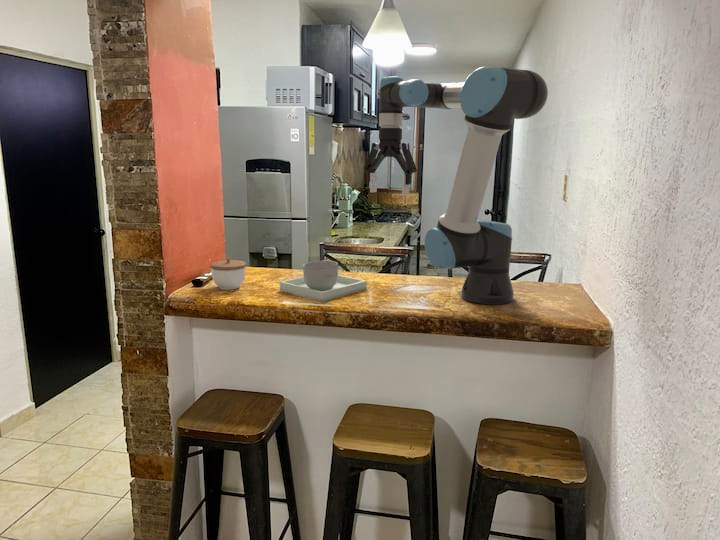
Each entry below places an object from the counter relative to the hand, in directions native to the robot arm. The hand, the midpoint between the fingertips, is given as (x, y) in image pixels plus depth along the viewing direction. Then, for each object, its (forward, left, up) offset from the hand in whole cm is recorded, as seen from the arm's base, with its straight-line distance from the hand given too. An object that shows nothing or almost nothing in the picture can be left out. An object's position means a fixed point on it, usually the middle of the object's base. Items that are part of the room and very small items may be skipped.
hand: (389, 193), depth 178 cm
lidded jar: (+28, +45, -29) cm, 60 cm away
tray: (+4, +27, -29) cm, 40 cm away
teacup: (+5, +27, -28) cm, 39 cm away
